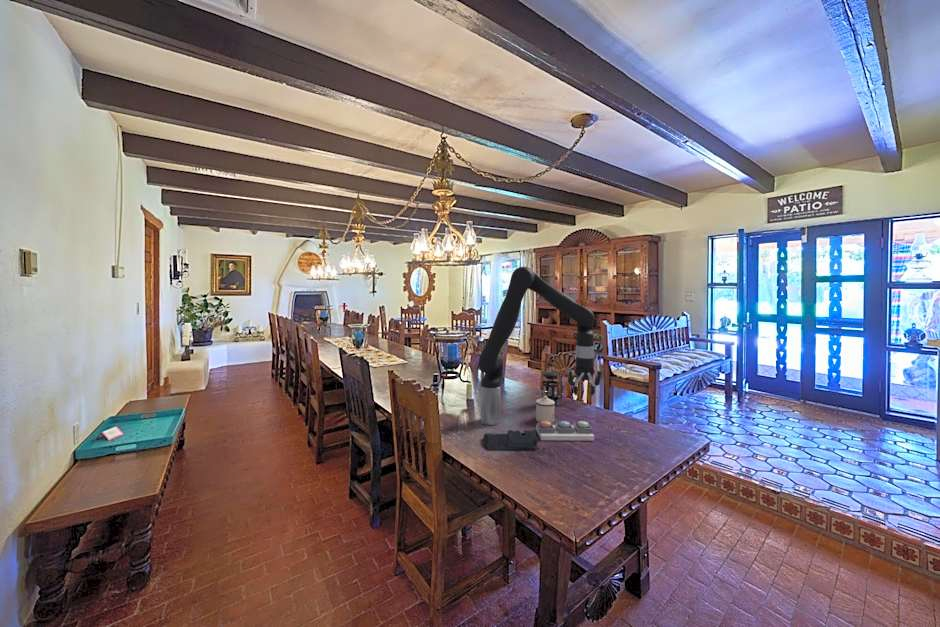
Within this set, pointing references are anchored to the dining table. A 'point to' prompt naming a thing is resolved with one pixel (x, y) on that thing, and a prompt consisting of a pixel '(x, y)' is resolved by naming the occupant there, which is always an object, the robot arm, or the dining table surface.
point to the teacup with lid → (545, 409)
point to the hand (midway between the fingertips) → (583, 394)
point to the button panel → (565, 433)
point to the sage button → (582, 424)
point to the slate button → (564, 424)
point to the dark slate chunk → (511, 441)
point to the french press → (551, 393)
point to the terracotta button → (545, 424)
